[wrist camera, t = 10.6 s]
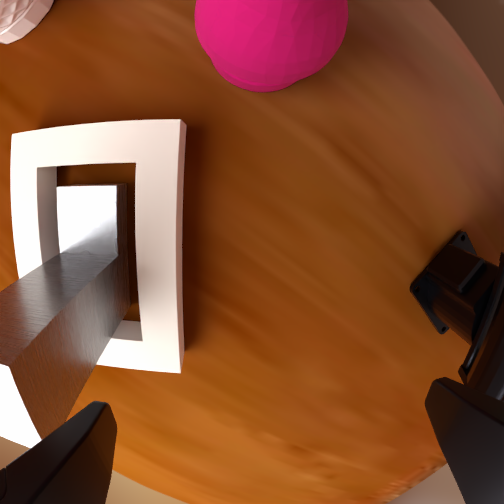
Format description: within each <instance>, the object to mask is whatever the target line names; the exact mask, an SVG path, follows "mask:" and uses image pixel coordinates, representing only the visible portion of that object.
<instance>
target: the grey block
mask: <svg viewBox="0 0 504 504" xmlns="http://www.w3.org/2000/svg"><path fill="white" fill-rule="evenodd" d="M57 214H58V233H59V246H60V253H59V254H58V255H56V256H54V257H53V258H51V259H50V260H48V261H46V262H45V263H43V264H42V265H40V266H39V267H37V268H35V269H34V270H32V271H31V272H29V273H28V274H26V275H25V276H23V277H22V278H20V279H19V280H17V281H16V282H14V283H13V284H11V285H10V286H8V287H7V288H5V289H4V290H2V291H1V292H0V436H2V437H5V438H7V439H9V440H12V441H14V442H17V443H19V444H22V445H24V446H27V447H30V448H32V447H33V446H34V445H36V444H37V443H38V442H40V441H41V440H42V439H44V438H45V437H46V436H48V435H49V434H50V433H52V432H53V431H54V430H56V429H57V428H58V427H60V426H61V425H62V424H64V423H65V421H66V419H67V417H68V415H69V413H70V411H71V409H72V407H73V406H74V404H75V402H76V400H77V398H78V396H79V394H80V392H81V390H82V389H83V387H84V385H85V383H86V381H87V379H88V378H89V376H90V374H91V372H92V370H93V369H94V367H95V365H96V363H97V362H98V360H99V358H100V356H101V355H102V353H103V351H104V349H105V348H106V346H107V344H108V343H109V341H110V339H111V338H112V336H113V334H114V332H115V331H116V329H117V327H118V326H119V324H120V322H121V321H122V319H123V318H124V316H125V314H126V313H127V311H128V309H129V308H130V306H131V295H130V282H129V265H128V240H127V183H110V184H70V185H65V186H59V187H57Z"/></svg>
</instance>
